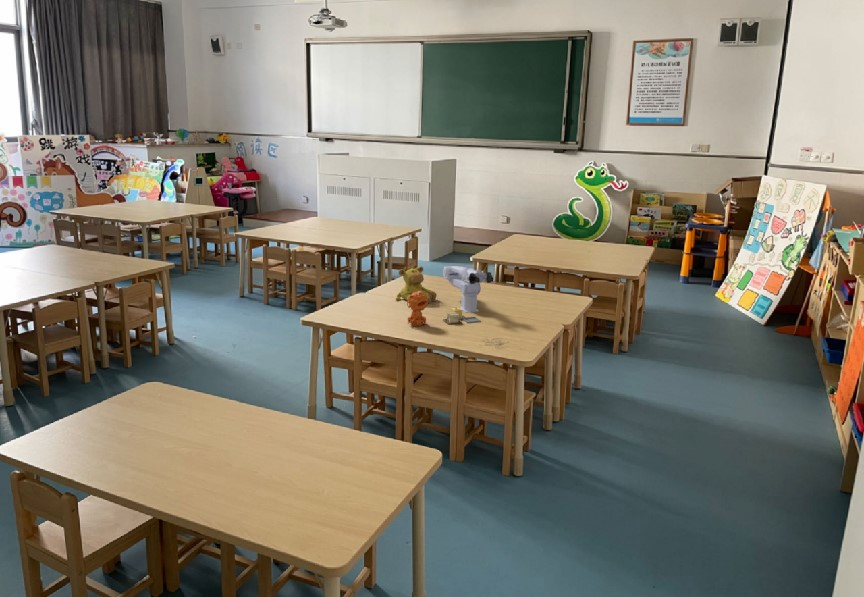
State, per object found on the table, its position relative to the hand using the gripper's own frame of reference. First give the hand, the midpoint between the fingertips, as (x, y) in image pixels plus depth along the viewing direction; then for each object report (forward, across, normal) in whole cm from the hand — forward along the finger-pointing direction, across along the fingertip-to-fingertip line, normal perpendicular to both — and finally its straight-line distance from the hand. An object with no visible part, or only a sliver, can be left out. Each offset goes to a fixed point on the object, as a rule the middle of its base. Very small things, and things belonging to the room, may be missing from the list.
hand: (485, 279), depth 344 cm
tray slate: (-3, -7, +22) cm, 23 cm away
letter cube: (-10, -12, +21) cm, 26 cm away
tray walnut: (-3, -18, +22) cm, 28 cm away
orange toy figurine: (-4, -36, +22) cm, 42 cm away
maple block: (-3, -18, +21) cm, 28 cm away
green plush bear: (-49, -22, +18) cm, 56 cm away
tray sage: (-10, -12, +21) cm, 26 cm away
